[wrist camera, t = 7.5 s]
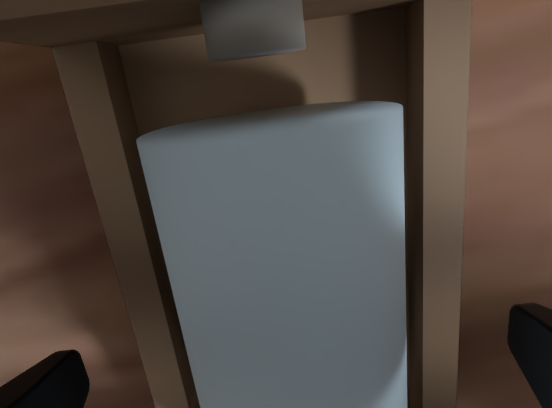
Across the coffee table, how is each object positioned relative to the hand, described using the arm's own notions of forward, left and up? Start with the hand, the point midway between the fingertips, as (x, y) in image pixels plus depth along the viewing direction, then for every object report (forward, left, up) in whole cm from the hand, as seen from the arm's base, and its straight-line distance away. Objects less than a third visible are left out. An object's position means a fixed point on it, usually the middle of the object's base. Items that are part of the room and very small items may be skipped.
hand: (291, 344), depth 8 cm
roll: (0, 0, -4) cm, 4 cm away
